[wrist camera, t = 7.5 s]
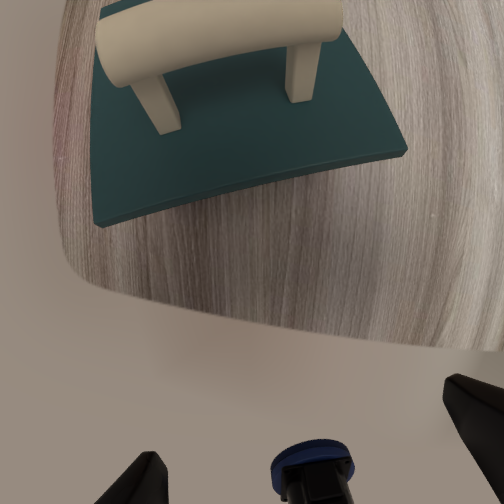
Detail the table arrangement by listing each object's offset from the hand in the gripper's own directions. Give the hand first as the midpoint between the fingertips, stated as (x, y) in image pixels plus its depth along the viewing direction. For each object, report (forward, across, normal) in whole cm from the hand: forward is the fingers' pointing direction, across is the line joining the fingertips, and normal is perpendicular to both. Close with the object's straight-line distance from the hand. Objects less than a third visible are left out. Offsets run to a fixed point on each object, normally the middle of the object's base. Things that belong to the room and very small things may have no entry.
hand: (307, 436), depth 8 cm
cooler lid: (+5, 0, -12) cm, 13 cm away
